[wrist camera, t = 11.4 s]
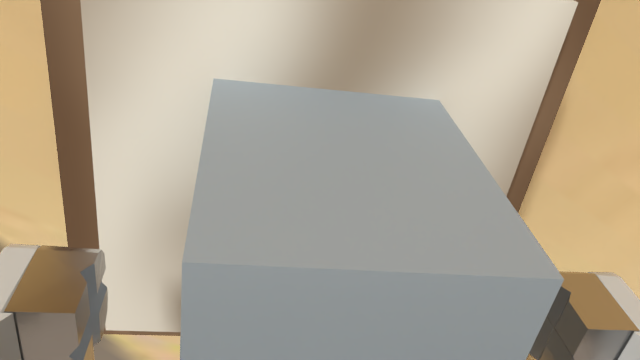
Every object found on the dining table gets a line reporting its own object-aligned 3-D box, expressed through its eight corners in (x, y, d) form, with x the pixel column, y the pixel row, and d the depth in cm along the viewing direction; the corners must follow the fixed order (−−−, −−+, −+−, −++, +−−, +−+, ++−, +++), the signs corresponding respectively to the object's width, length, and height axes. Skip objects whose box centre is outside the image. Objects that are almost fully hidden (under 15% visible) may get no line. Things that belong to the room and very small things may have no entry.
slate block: (438, 100, 13) (564, 279, 7) (393, 270, 15) (462, 491, 10) (213, 78, 12) (181, 262, 7) (205, 262, 14) (177, 496, 9)
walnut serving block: (524, -79, 16) (641, -42, 11) (427, 246, 22) (475, 362, 17) (92, -145, 14) (8, -135, 9) (114, 230, 20) (70, 354, 16)
